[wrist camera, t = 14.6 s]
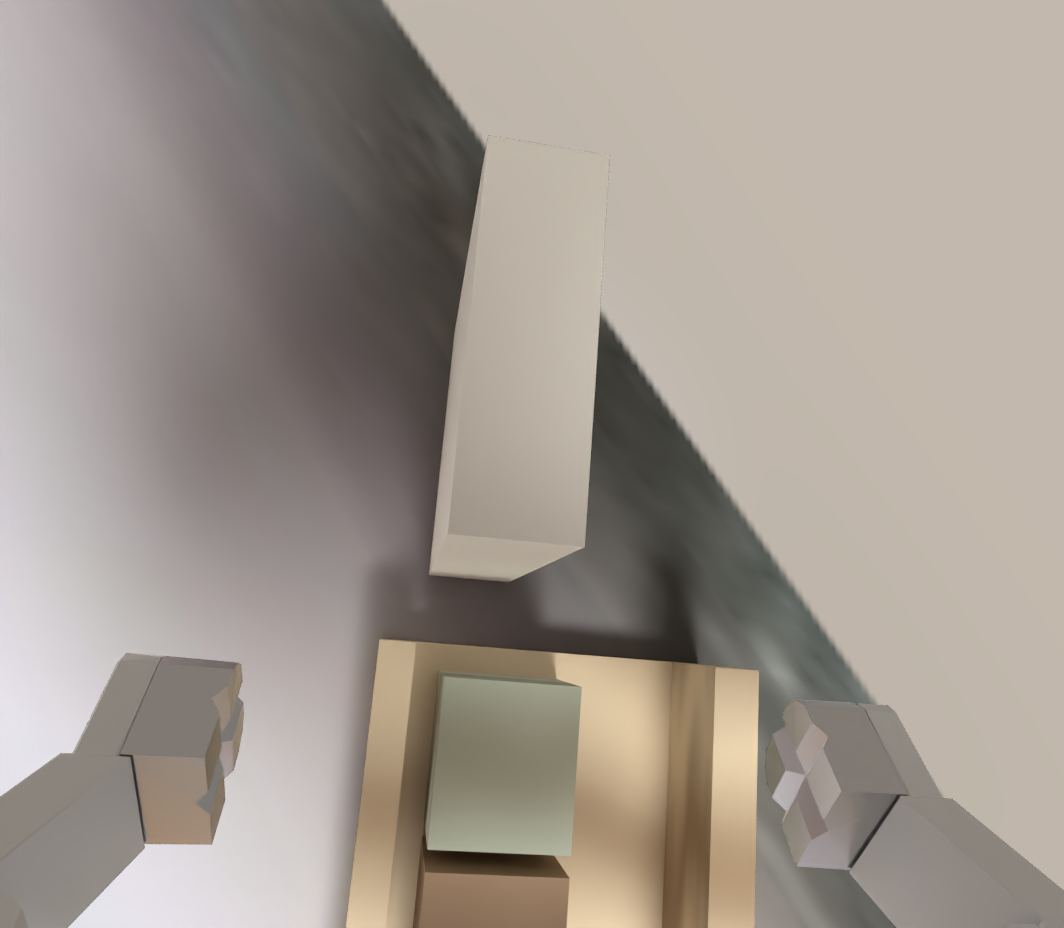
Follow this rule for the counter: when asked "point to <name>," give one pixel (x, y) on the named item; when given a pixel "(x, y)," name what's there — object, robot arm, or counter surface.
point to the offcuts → (498, 802)
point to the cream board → (523, 365)
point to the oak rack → (585, 786)
